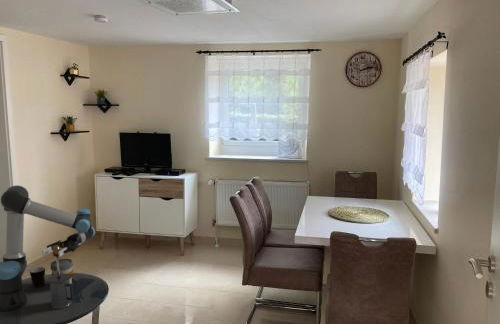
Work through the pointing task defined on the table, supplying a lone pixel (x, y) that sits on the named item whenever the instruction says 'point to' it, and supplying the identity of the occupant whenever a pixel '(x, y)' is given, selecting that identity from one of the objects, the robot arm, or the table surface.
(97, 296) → the table surface
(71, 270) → the reusable coffee cup
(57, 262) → the plunger
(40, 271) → the coffee mug
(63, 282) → the press carafe
